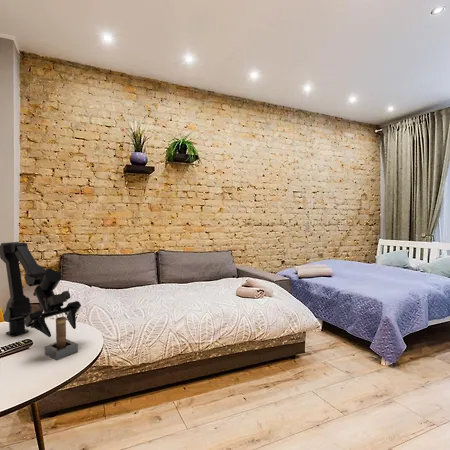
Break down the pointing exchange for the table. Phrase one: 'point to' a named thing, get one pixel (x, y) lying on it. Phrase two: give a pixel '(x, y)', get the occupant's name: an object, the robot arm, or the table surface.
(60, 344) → the pin
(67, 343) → the socket block
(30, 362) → the table surface
